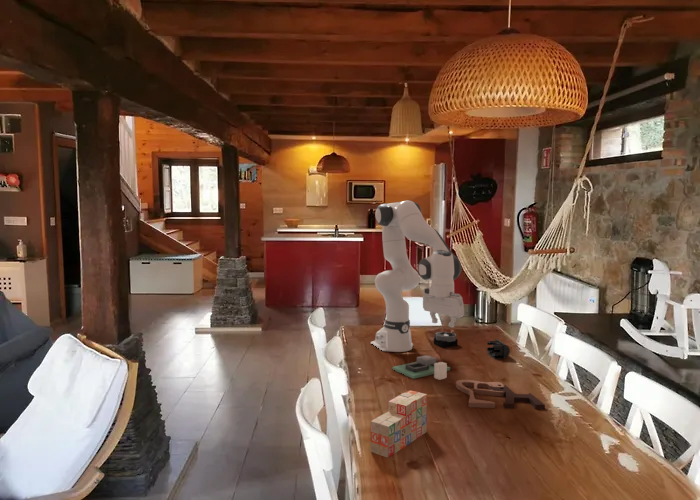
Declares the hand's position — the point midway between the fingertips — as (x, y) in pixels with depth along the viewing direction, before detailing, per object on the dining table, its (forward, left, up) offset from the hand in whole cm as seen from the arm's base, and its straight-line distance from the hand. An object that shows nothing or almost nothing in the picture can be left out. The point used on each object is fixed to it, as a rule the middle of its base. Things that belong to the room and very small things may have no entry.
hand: (443, 325), depth 207 cm
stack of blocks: (+35, -50, -22) cm, 65 cm away
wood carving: (+26, +3, -23) cm, 34 cm away
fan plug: (0, -1, -22) cm, 22 cm away
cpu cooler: (-36, +35, -22) cm, 55 cm away
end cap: (-8, +42, -22) cm, 48 cm away
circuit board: (-12, -1, -22) cm, 25 cm away
